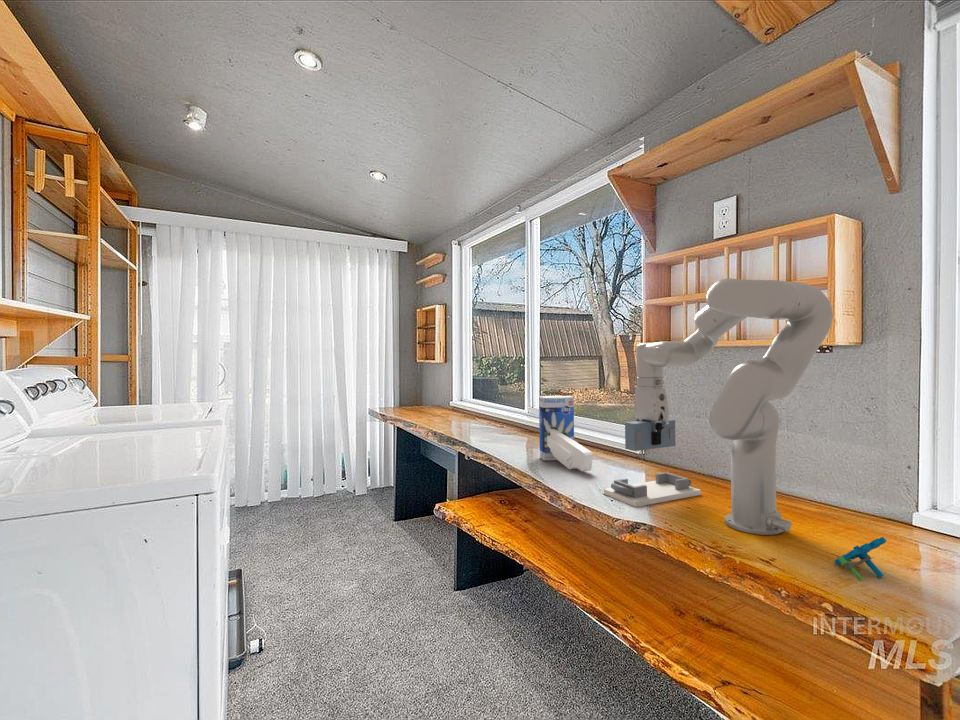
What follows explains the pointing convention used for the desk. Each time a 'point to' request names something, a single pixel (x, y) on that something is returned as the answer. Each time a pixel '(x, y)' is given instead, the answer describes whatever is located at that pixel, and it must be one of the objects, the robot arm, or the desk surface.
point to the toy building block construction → (861, 557)
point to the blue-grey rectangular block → (647, 435)
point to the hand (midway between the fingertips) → (650, 442)
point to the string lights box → (555, 420)
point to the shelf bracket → (569, 451)
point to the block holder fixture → (652, 490)
